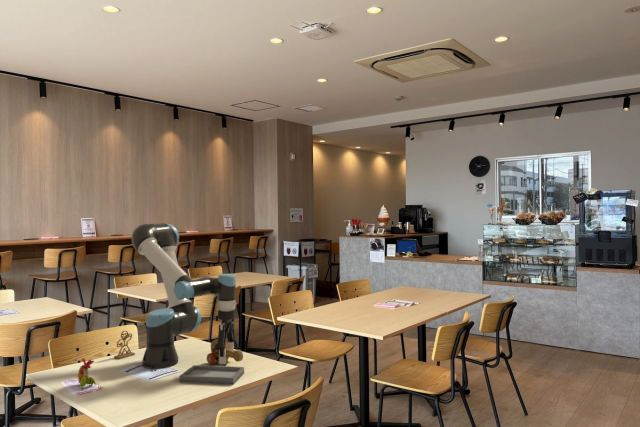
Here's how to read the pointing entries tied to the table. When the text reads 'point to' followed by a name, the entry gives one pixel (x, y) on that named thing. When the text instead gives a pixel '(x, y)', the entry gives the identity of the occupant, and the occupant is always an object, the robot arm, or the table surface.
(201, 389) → the table surface
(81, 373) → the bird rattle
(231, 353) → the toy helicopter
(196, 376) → the gray tray
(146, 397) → the table surface
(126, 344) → the wire human figurine
